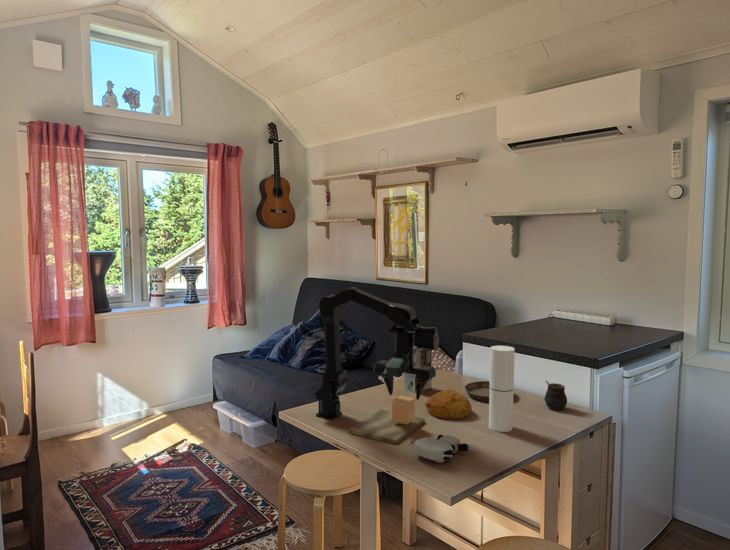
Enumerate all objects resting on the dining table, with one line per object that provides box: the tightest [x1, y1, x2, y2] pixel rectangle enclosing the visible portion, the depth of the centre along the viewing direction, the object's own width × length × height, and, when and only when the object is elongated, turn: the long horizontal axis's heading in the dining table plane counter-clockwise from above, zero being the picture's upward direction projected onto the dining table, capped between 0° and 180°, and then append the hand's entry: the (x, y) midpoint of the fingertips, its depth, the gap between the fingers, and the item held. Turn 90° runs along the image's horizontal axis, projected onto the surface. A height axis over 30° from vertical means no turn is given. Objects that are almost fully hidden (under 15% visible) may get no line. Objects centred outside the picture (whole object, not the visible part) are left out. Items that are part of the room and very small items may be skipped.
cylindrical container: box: [488, 345, 516, 433], centre depth 164 cm, size 7×7×25 cm
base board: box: [348, 409, 426, 445], centre depth 165 cm, size 16×20×1 cm
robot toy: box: [407, 434, 474, 464], centre depth 145 cm, size 12×4×15 cm
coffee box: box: [403, 345, 432, 394], centre depth 204 cm, size 9×6×16 cm
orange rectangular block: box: [391, 395, 416, 424], centre depth 165 cm, size 5×5×7 cm
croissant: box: [424, 389, 472, 420], centre depth 179 cm, size 14×16×8 cm
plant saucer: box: [463, 380, 490, 402], centre depth 196 cm, size 18×18×3 cm
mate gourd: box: [544, 380, 568, 411], centre depth 182 cm, size 7×8×10 cm
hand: (404, 397), depth 164 cm, fingers open, 9 cm apart
